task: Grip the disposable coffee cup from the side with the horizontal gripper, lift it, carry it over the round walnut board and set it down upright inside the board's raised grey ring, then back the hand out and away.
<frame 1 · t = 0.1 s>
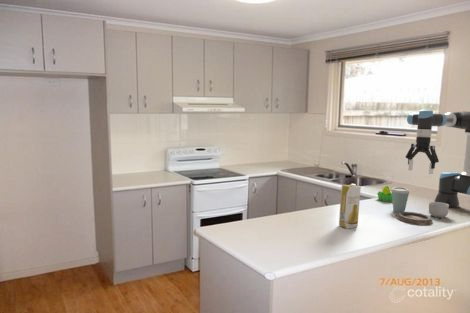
hand: (420, 172, 221), 28 cm above the counter, tool pointing down, fingers open, 13 cm apart
teacup: (436, 216, 231), on the counter
juice carton: (348, 226, 204), on the counter
disposable coffee cup: (398, 211, 239), on the counter
fruit basket: (385, 200, 267), on the counter
ring board: (414, 219, 221), on the counter
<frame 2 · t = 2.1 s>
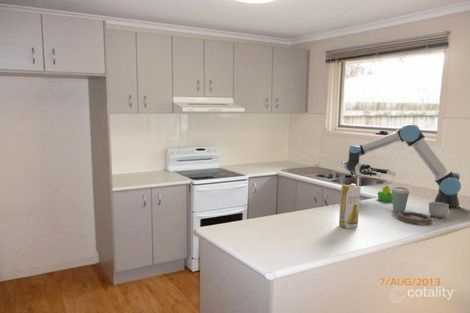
hand: (387, 174, 245), 22 cm above the counter, tool horizontal, fingers open, 13 cm apart
nothing on the counter moved.
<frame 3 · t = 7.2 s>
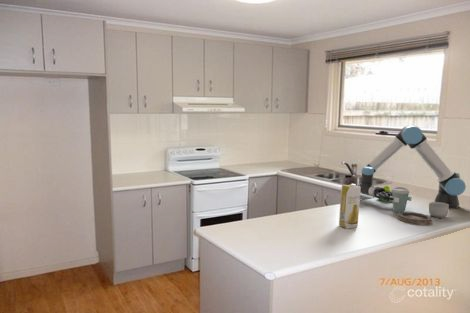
hand: (404, 199, 234), 9 cm above the counter, tool horizontal, fingers closed on disposable coffee cup, 11 cm apart
disposable coffee cup: (398, 211, 239), on the counter, touching gripper
everything else where it was.
when the fingers open (11 cm above the counter, at t = 13.3 s): disposable coffee cup drops 1 cm, resting on ring board.
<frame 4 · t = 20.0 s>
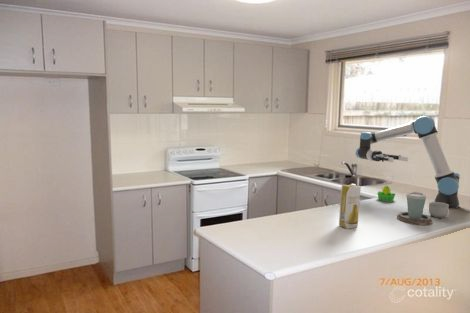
hand: (400, 159, 244), 32 cm above the counter, tool horizontal, fingers open, 13 cm apart
disposable coffee cup: (413, 218, 220), point 1 cm above the counter, touching ring board
everything else where it was.
at the end: disposable coffee cup 0.2 cm off-centre on the ring board, point 0.8 cm above the ring board's base; disposable coffee cup tilted 0°; the gripper is holding nothing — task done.
